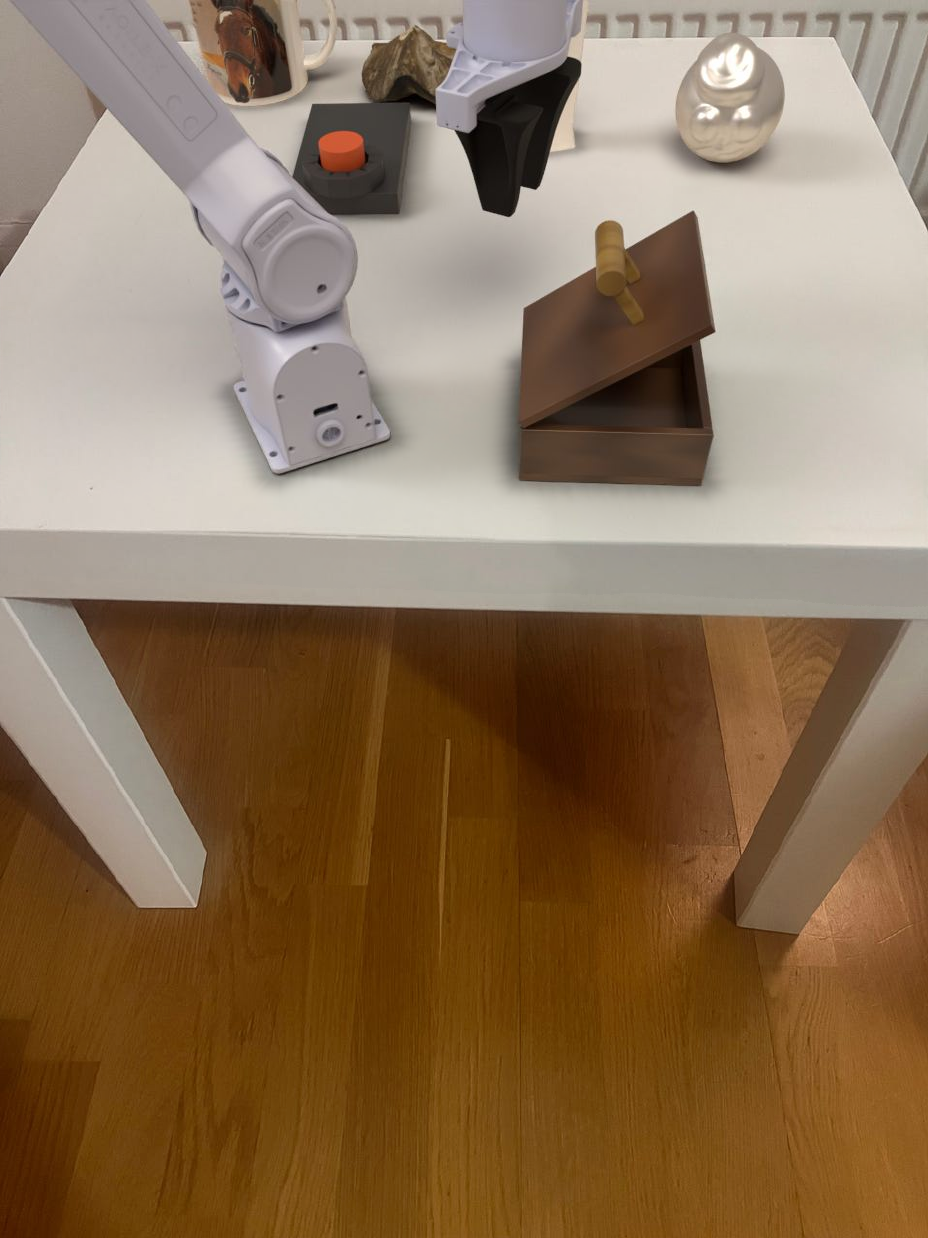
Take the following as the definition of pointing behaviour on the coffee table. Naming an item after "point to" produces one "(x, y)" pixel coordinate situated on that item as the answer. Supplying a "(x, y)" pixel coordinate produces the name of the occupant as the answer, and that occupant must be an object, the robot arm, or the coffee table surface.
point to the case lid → (614, 317)
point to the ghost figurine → (729, 100)
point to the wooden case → (628, 430)
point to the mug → (256, 48)
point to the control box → (384, 158)
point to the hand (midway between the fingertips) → (511, 197)
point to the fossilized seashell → (407, 66)
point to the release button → (342, 151)
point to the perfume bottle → (565, 125)
